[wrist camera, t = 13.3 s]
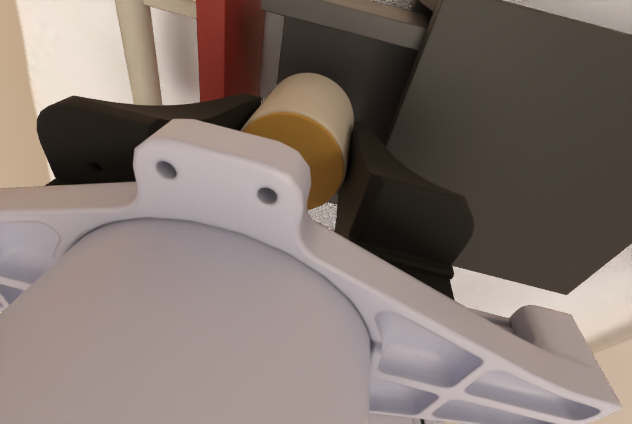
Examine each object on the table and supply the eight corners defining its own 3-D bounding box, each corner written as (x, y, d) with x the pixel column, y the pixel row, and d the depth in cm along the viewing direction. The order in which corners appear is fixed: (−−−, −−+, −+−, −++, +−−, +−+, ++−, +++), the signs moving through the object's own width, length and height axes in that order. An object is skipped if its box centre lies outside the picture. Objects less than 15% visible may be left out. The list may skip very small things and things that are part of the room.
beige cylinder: (290, 167, 16) (266, 222, 12) (251, 92, 14) (209, 134, 10) (365, 143, 14) (362, 199, 11) (334, 56, 12) (318, 91, 9)
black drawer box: (356, 169, 23) (349, 239, 17) (420, -22, 16) (447, -14, 10) (518, 211, 23) (566, 295, 17) (659, 42, 16) (828, 87, 10)
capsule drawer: (174, 121, 22) (121, 162, 17) (153, -76, 15) (59, -94, 11) (395, 178, 22) (400, 233, 17) (471, 8, 15) (510, 26, 11)
